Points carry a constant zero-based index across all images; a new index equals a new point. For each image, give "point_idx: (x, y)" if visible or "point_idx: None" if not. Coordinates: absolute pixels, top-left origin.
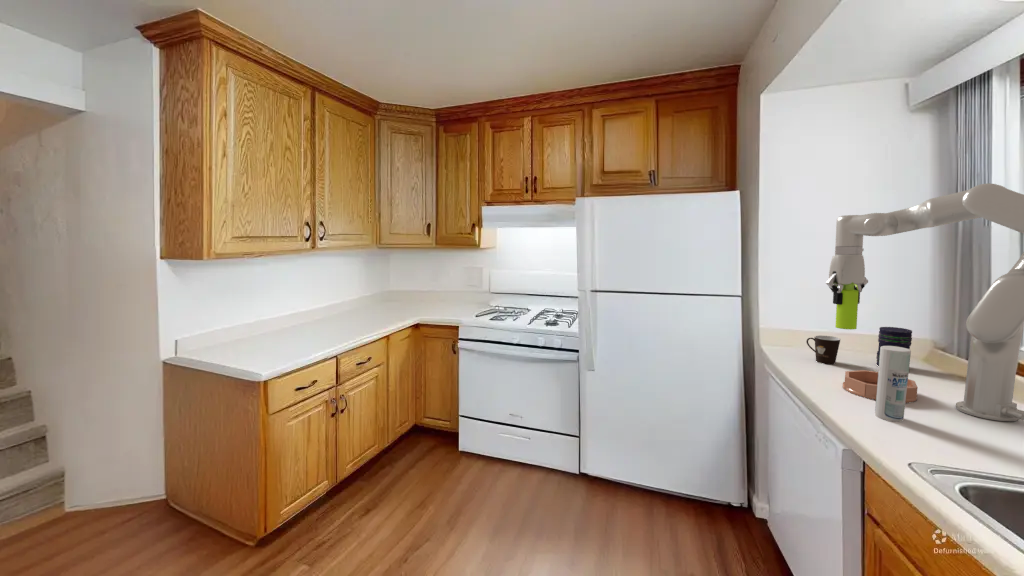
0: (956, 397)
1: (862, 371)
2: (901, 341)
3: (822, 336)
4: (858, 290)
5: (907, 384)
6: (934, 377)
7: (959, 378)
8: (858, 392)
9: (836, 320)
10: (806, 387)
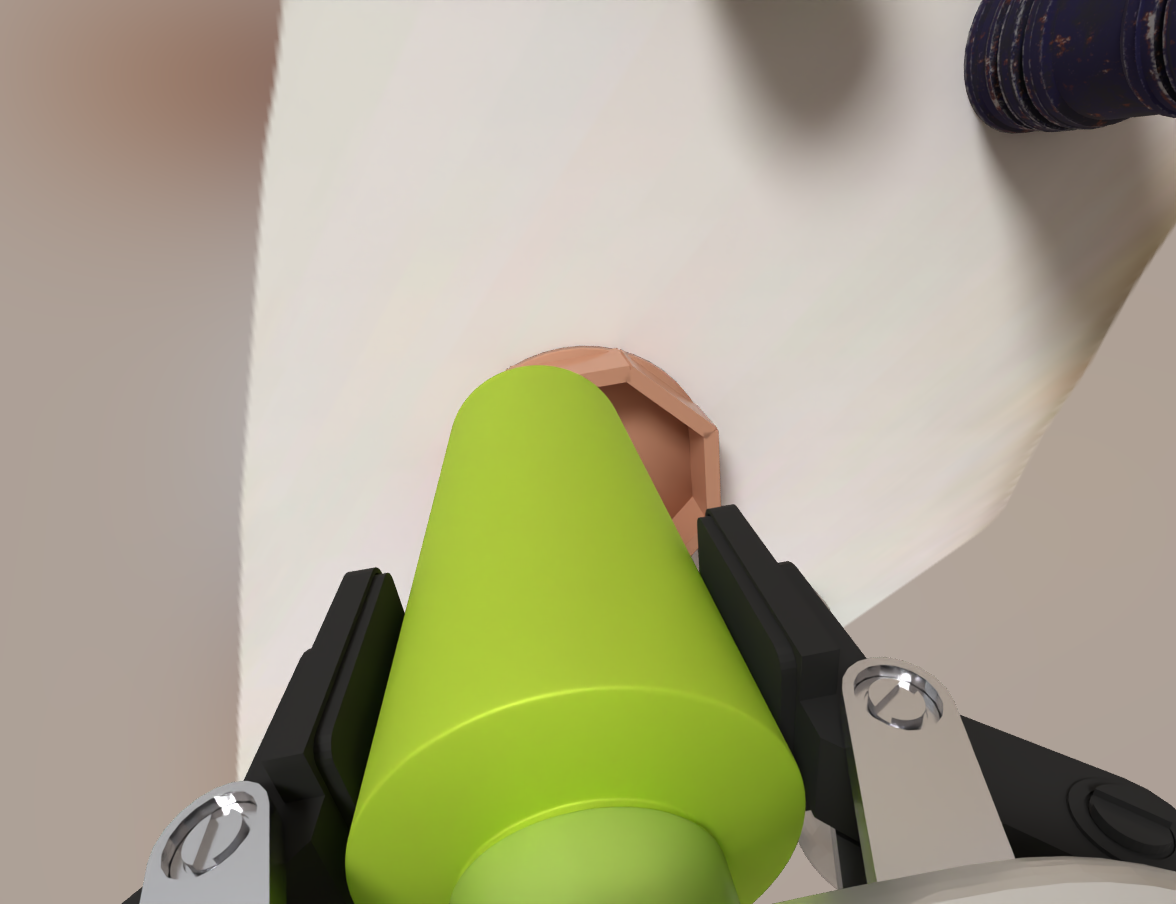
0: (827, 512)
1: (605, 384)
2: None
3: None
4: (835, 836)
5: (699, 499)
6: (1034, 263)
7: (1121, 281)
8: None
9: (442, 465)
10: (277, 417)
